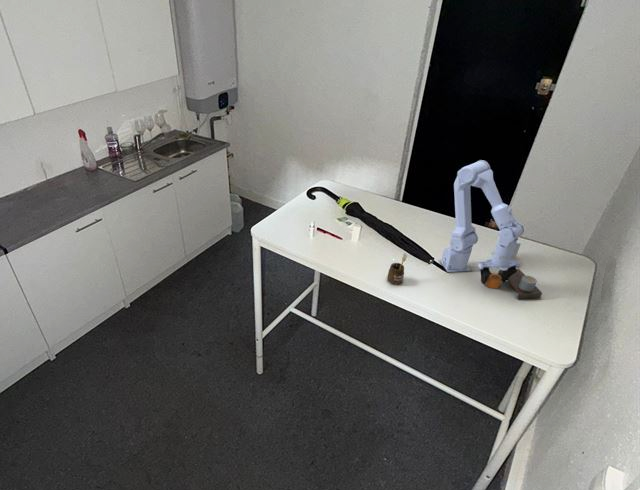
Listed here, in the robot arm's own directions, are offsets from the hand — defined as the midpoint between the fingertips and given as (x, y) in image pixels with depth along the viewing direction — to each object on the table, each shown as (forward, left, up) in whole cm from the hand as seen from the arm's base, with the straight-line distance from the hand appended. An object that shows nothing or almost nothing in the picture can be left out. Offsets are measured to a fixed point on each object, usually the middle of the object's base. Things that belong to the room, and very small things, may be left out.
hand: (492, 282), depth 156 cm
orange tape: (0, 0, -1) cm, 1 cm away
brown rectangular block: (+9, -2, -1) cm, 9 cm away
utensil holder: (-36, +6, -1) cm, 37 cm away
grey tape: (+9, -6, +1) cm, 11 cm away
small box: (+13, +16, -1) cm, 21 cm away
